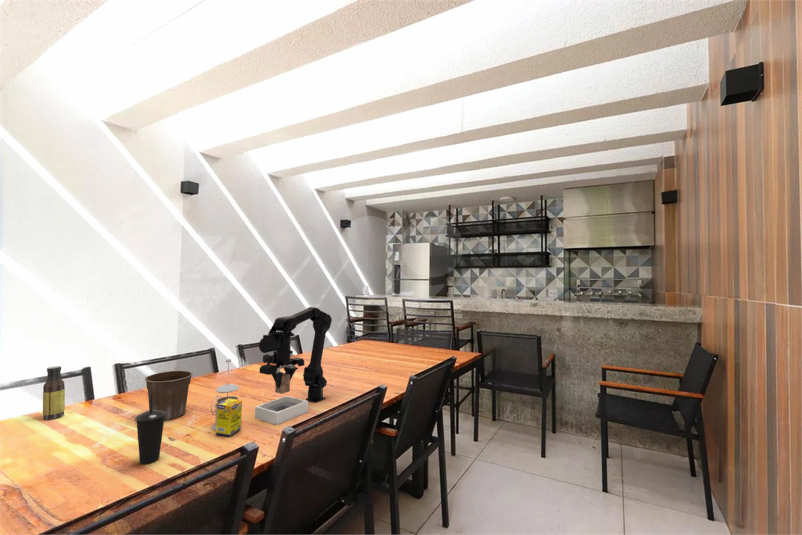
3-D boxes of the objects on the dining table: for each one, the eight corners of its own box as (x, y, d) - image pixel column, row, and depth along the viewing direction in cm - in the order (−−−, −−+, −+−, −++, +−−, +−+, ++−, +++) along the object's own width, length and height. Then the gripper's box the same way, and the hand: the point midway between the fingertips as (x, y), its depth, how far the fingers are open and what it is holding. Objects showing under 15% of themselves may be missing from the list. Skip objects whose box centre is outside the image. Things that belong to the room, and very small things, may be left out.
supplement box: (230, 437, 124) (231, 406, 123) (215, 434, 125) (216, 404, 125) (241, 429, 129) (242, 399, 129) (227, 427, 131) (228, 397, 130)
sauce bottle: (67, 413, 144) (69, 364, 144) (59, 419, 138) (61, 368, 139) (47, 415, 142) (49, 365, 142) (37, 421, 136) (40, 369, 136)
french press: (246, 422, 137) (248, 357, 138) (222, 434, 126) (224, 363, 127) (226, 418, 140) (228, 355, 141) (201, 430, 129) (203, 361, 130)
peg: (283, 389, 147) (283, 372, 148) (289, 391, 145) (290, 374, 146) (275, 392, 144) (275, 374, 144) (281, 393, 142) (282, 376, 142)
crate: (286, 406, 154) (286, 395, 155) (307, 411, 148) (308, 401, 148) (254, 418, 141) (255, 406, 141) (276, 425, 134) (277, 413, 134)
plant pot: (197, 415, 143) (198, 375, 143) (149, 427, 131) (150, 383, 132) (184, 405, 154) (185, 368, 155) (139, 415, 142) (140, 375, 143)
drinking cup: (144, 454, 111) (146, 390, 112) (169, 453, 112) (171, 389, 112) (127, 467, 103) (130, 398, 104) (155, 466, 104) (157, 397, 105)
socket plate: (286, 405, 153) (286, 400, 153) (305, 410, 148) (305, 405, 148) (257, 415, 141) (258, 411, 141) (277, 421, 135) (277, 417, 135)
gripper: (287, 343, 157) (287, 378, 157) (250, 350, 141) (250, 389, 141) (305, 345, 152) (305, 382, 151) (269, 353, 136) (268, 394, 135)
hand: (282, 386), depth 145 cm, fingers closed on peg, 4 cm apart
